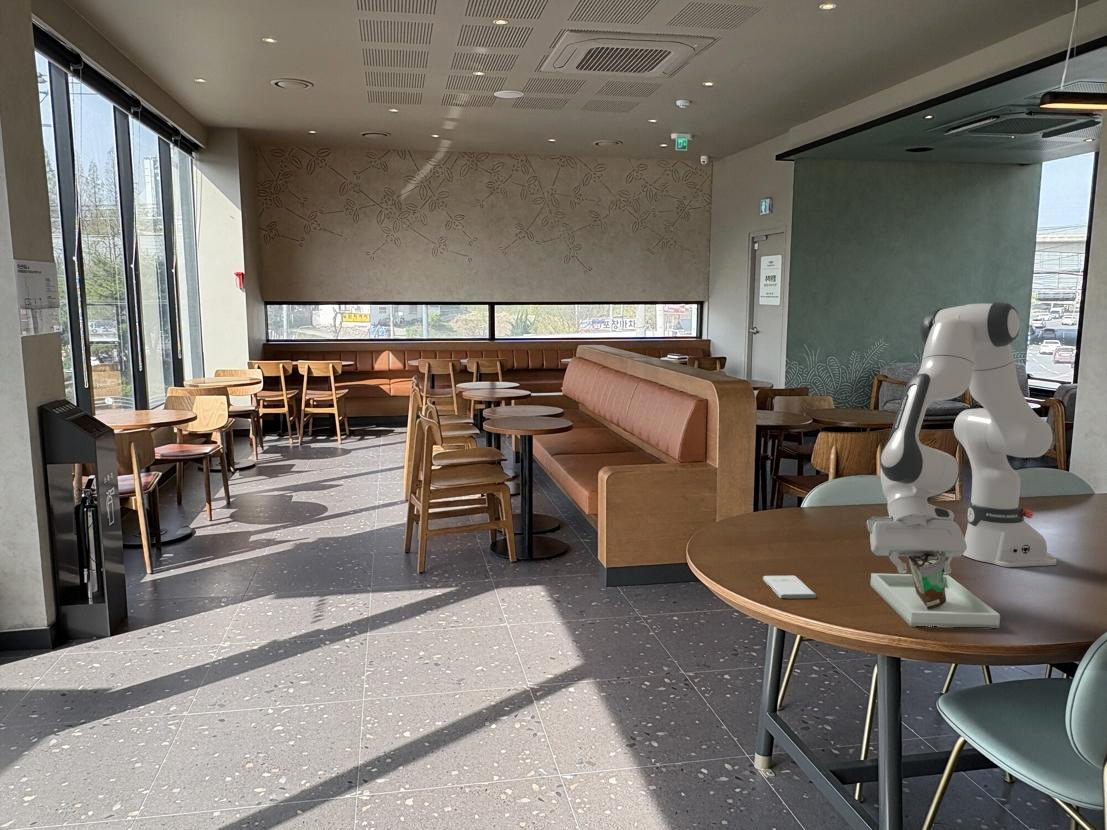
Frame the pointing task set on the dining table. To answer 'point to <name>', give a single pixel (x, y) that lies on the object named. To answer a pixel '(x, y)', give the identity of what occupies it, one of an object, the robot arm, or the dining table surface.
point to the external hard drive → (788, 587)
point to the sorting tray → (954, 612)
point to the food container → (928, 578)
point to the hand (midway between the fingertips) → (924, 572)
